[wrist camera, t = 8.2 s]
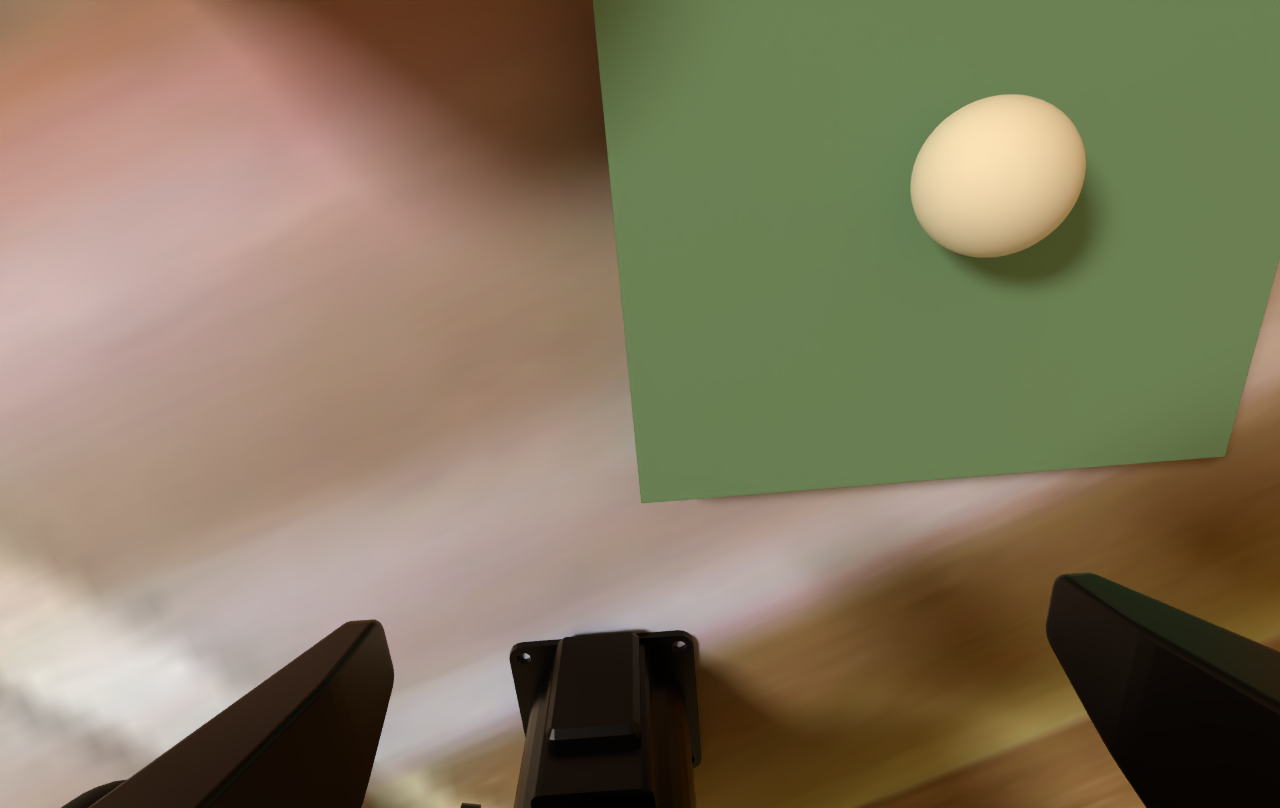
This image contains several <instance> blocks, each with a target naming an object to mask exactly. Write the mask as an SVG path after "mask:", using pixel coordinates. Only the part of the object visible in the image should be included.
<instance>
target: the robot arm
mask: <svg viewBox="0 0 1280 808" xmlns="http://www.w3.org/2000/svg"><path fill="white" fill-rule="evenodd" d="M1046 633H1047V638H1048V641H1049V643H1050V645H1051V648H1052V649H1053V651H1054V653H1055V655H1056V657H1057V658H1058V660H1059V662H1060V664H1061V666H1062V668H1063V669H1064V671H1065V673H1066V675H1067V677H1068V679H1069V680H1070V682H1071V684H1072V686H1073V688H1074V689H1075V691H1076V693H1077V695H1078V697H1079V699H1080V700H1081V702H1082V704H1083V706H1084V708H1085V710H1086V711H1087V713H1088V715H1089V717H1090V719H1091V720H1092V722H1093V724H1094V726H1095V728H1096V730H1097V731H1098V733H1099V735H1100V737H1101V738H1102V740H1103V742H1104V744H1105V745H1106V747H1107V749H1108V750H1109V752H1110V754H1111V755H1112V757H1113V758H1114V760H1115V761H1116V763H1117V765H1118V766H1119V768H1120V769H1121V771H1122V772H1123V774H1124V775H1125V777H1126V778H1127V780H1128V781H1129V783H1130V784H1131V786H1132V787H1133V789H1134V790H1135V792H1136V793H1137V795H1138V796H1139V798H1140V799H1141V801H1142V802H1143V803H1144V805H1145V806H1146V808H1280V652H1278V651H1276V650H1274V649H1271V648H1269V647H1267V646H1264V645H1262V644H1259V643H1257V642H1255V641H1252V640H1250V639H1248V638H1245V637H1243V636H1240V635H1238V634H1236V633H1233V632H1231V631H1229V630H1226V629H1224V628H1221V627H1219V626H1217V625H1214V624H1212V623H1210V622H1207V621H1205V620H1203V619H1200V618H1198V617H1195V616H1193V615H1191V614H1188V613H1186V612H1184V611H1181V610H1179V609H1176V608H1174V607H1172V606H1169V605H1167V604H1165V603H1162V602H1160V601H1158V600H1155V599H1153V598H1150V597H1148V596H1146V595H1143V594H1141V593H1139V592H1136V591H1134V590H1131V589H1129V588H1127V587H1124V586H1122V585H1120V584H1117V583H1115V582H1113V581H1110V580H1108V579H1105V578H1103V577H1101V576H1098V575H1096V574H1093V573H1075V574H1063V575H1060V576H1058V577H1057V578H1056V580H1055V581H1054V584H1053V588H1052V594H1051V599H1050V605H1049V610H1048V616H1047V621H1046ZM677 641H682V642H684V643H685V645H684V646H682V647H675V646H673V645H672V644H673V643H674V642H677ZM520 653H527V654H528V655H530V658H527V659H522V658H521V657H519V656H518V654H520ZM510 664H511V669H512V674H513V679H514V684H515V689H516V693H517V698H518V703H519V708H520V713H521V718H522V723H523V728H524V733H525V737H526V740H525V745H524V751H523V757H522V762H521V768H520V774H519V780H518V785H517V791H516V797H515V802H514V808H696V798H695V788H694V778H693V768H695V767H696V766H698V765H699V764H700V762H701V749H700V735H699V720H698V706H697V692H696V677H695V663H694V648H693V640H692V637H691V636H690V634H689V633H687V632H685V631H679V630H676V631H663V632H650V633H637V634H635V633H631V632H628V633H615V634H602V635H589V636H576V637H565V638H563V639H558V640H545V641H532V642H521V643H517V644H516V645H514V646H513V648H512V649H511V652H510ZM393 682H394V669H393V664H392V660H391V656H390V652H389V648H388V644H387V640H386V636H385V632H384V629H383V626H382V624H381V623H380V622H379V621H377V620H359V621H349V622H347V623H345V624H343V625H342V626H340V627H339V628H338V629H336V630H335V631H333V632H332V633H331V634H329V635H328V636H327V637H325V638H324V639H322V640H321V641H320V642H318V643H317V644H315V645H314V646H313V647H311V648H310V649H308V650H307V651H306V652H304V653H303V654H302V655H300V656H299V657H297V658H296V659H295V660H293V661H292V662H290V663H289V664H288V665H286V666H285V667H283V668H282V669H281V670H279V671H278V672H277V673H275V674H274V675H272V676H271V677H270V678H268V679H267V680H265V681H264V682H263V683H261V684H260V685H258V686H257V687H256V688H254V689H253V690H251V691H250V692H249V693H247V694H246V695H245V696H243V697H242V698H240V699H239V700H238V701H236V702H235V703H233V704H232V705H231V706H229V707H228V708H226V709H225V710H224V711H222V712H221V713H219V714H218V715H217V716H215V717H214V718H213V719H211V720H210V721H208V722H207V723H206V724H204V725H203V726H201V727H200V728H199V729H197V730H196V731H194V732H193V733H192V734H190V735H189V736H187V737H186V738H185V739H183V740H182V741H181V742H179V743H178V744H176V745H175V746H174V747H172V748H171V749H169V750H168V751H167V752H165V753H164V754H162V755H161V756H160V757H158V758H157V759H155V760H154V761H153V762H151V763H150V764H149V765H147V766H146V767H144V768H143V769H142V770H140V771H139V772H137V773H136V774H135V775H133V776H132V777H130V778H129V779H128V780H126V781H125V782H123V783H122V784H121V785H119V786H118V787H117V788H115V789H114V790H112V791H111V792H110V793H108V794H107V795H105V796H104V797H103V798H101V799H100V800H98V801H97V802H96V803H94V804H93V805H91V806H90V807H89V808H361V807H362V804H363V801H364V797H365V794H366V790H367V787H368V783H369V779H370V775H371V771H372V767H373V763H374V759H375V755H376V751H377V747H378V744H379V740H380V736H381V732H382V728H383V724H384V720H385V716H386V712H387V708H388V704H389V700H390V696H391V692H392V688H393ZM691 755H692V756H693V757H691ZM461 808H481V805H479V804H468V803H462V805H461Z"/></svg>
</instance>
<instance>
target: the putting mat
mask: <svg viewBox="0 0 1280 808" xmlns="http://www.w3.org/2000/svg"><path fill="white" fill-rule="evenodd" d="M593 10H594V20H595V30H596V41H597V51H598V61H599V72H600V82H601V92H602V103H603V113H604V123H605V134H606V144H607V154H608V164H609V175H610V185H611V195H612V206H613V216H614V226H615V237H616V247H617V257H618V267H619V278H620V288H621V298H622V309H623V319H624V329H625V340H626V350H627V360H628V370H629V381H630V391H631V401H632V412H633V422H634V432H635V443H636V453H637V463H638V474H639V484H640V494H641V503H652V502H664V501H677V500H689V499H702V498H714V497H726V496H739V495H751V494H764V493H776V492H789V491H801V490H814V489H826V488H838V487H851V486H863V485H876V484H888V483H901V482H913V481H926V480H938V479H950V478H963V477H975V476H988V475H1000V474H1013V473H1025V472H1038V471H1050V470H1063V469H1075V468H1087V467H1100V466H1112V465H1125V464H1137V463H1150V462H1162V461H1175V460H1187V459H1199V458H1212V457H1224V456H1225V454H1226V450H1227V447H1228V443H1229V439H1230V436H1231V432H1232V429H1233V425H1234V421H1235V418H1236V414H1237V411H1238V407H1239V403H1240V400H1241V396H1242V393H1243V389H1244V385H1245V382H1246V378H1247V374H1248V371H1249V367H1250V364H1251V360H1252V356H1253V353H1254V349H1255V346H1256V342H1257V338H1258V335H1259V331H1260V328H1261V324H1262V320H1263V317H1264V313H1265V309H1266V306H1267V302H1268V299H1269V295H1270V291H1271V288H1272V284H1273V281H1274V277H1275V273H1276V270H1277V266H1278V262H1279V259H1280V0H593ZM1005 94H1018V95H1026V96H1031V97H1035V98H1038V99H1041V100H1044V101H1046V102H1048V103H1050V104H1052V105H1054V106H1055V107H1056V108H1058V109H1059V110H1061V111H1062V112H1063V113H1064V114H1065V115H1066V116H1067V117H1068V118H1069V119H1070V120H1071V121H1072V123H1073V124H1074V125H1075V127H1076V129H1077V131H1078V133H1079V135H1080V137H1081V139H1082V142H1083V145H1084V149H1085V155H1086V170H1085V178H1084V182H1083V186H1082V189H1081V192H1080V195H1079V197H1078V199H1077V201H1076V203H1075V205H1074V207H1073V208H1072V210H1071V211H1070V213H1069V214H1068V216H1067V217H1066V218H1065V219H1064V221H1063V222H1062V223H1061V224H1060V225H1059V226H1058V227H1057V228H1056V229H1055V230H1054V231H1053V232H1051V233H1050V234H1049V235H1048V236H1046V237H1045V238H1043V239H1042V240H1041V241H1039V242H1038V243H1036V244H1034V245H1032V246H1030V247H1029V248H1026V249H1024V250H1021V251H1019V252H1016V253H1012V254H1009V255H1005V256H999V257H988V258H979V257H970V256H966V255H962V254H958V253H955V252H953V251H950V250H948V249H946V248H945V247H943V246H941V245H940V244H938V243H937V242H936V241H934V240H933V239H932V238H931V237H930V236H929V235H928V234H927V233H926V231H925V230H924V229H923V228H922V226H921V225H920V223H919V221H918V219H917V217H916V215H915V212H914V209H913V205H912V201H911V193H910V183H911V175H912V171H913V167H914V163H915V161H916V158H917V155H918V153H919V151H920V150H921V148H922V146H923V144H924V143H925V141H926V140H927V138H928V137H929V136H930V134H931V133H932V132H933V131H934V130H935V128H936V127H937V126H938V125H939V124H940V123H941V122H942V121H944V120H945V119H946V118H947V117H949V116H950V115H951V114H952V113H954V112H956V111H957V110H959V109H961V108H962V107H964V106H966V105H968V104H970V103H972V102H975V101H977V100H980V99H984V98H987V97H991V96H997V95H1005Z"/></svg>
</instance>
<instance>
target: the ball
mask: <svg viewBox="0 0 1280 808" xmlns="http://www.w3.org/2000/svg"><path fill="white" fill-rule="evenodd" d="M1085 170H1086V155H1085V149H1084V145H1083V142H1082V139H1081V137H1080V135H1079V133H1078V131H1077V129H1076V127H1075V125H1074V124H1073V123H1072V121H1071V120H1070V119H1069V118H1068V117H1067V116H1066V115H1065V114H1064V113H1063V112H1062V111H1061V110H1059V109H1058V108H1056V107H1055V106H1054V105H1052V104H1050V103H1048V102H1046V101H1044V100H1041V99H1038V98H1035V97H1031V96H1026V95H1018V94H1005V95H997V96H991V97H987V98H984V99H980V100H977V101H975V102H972V103H970V104H968V105H966V106H964V107H962V108H961V109H959V110H957V111H956V112H954V113H952V114H951V115H950V116H949V117H947V118H946V119H945V120H944V121H942V122H941V123H940V124H939V125H938V126H937V127H936V128H935V130H934V131H933V132H932V133H931V134H930V136H929V137H928V138H927V140H926V141H925V143H924V144H923V146H922V148H921V150H920V151H919V153H918V155H917V158H916V161H915V163H914V167H913V171H912V175H911V183H910V193H911V201H912V205H913V209H914V212H915V215H916V217H917V219H918V221H919V223H920V225H921V226H922V228H923V229H924V230H925V231H926V233H927V234H928V235H929V236H930V237H931V238H932V239H933V240H934V241H936V242H937V243H938V244H940V245H941V246H943V247H945V248H946V249H948V250H950V251H953V252H955V253H958V254H962V255H966V256H970V257H979V258H988V257H999V256H1005V255H1009V254H1012V253H1016V252H1019V251H1021V250H1024V249H1026V248H1029V247H1030V246H1032V245H1034V244H1036V243H1038V242H1039V241H1041V240H1042V239H1043V238H1045V237H1046V236H1048V235H1049V234H1050V233H1051V232H1053V231H1054V230H1055V229H1056V228H1057V227H1058V226H1059V225H1060V224H1061V223H1062V222H1063V221H1064V219H1065V218H1066V217H1067V216H1068V214H1069V213H1070V211H1071V210H1072V208H1073V207H1074V205H1075V203H1076V201H1077V199H1078V197H1079V195H1080V192H1081V189H1082V186H1083V182H1084V178H1085Z"/></svg>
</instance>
